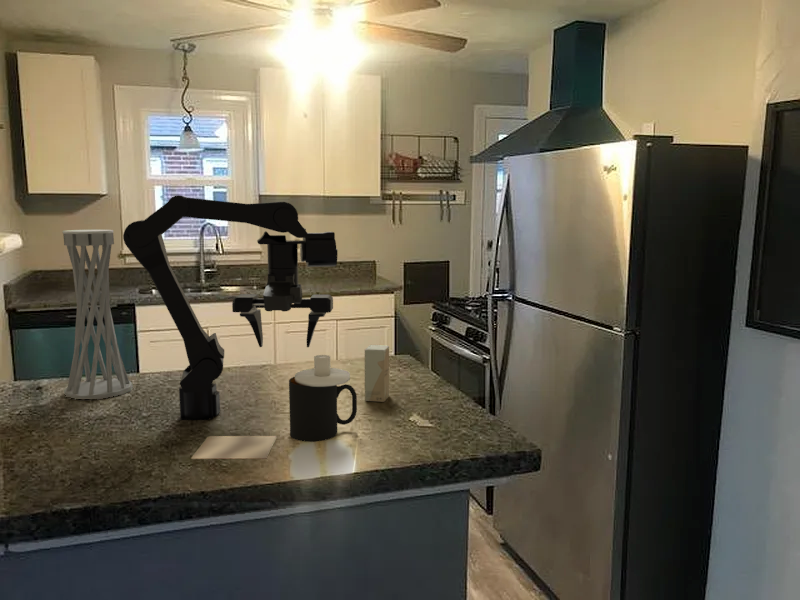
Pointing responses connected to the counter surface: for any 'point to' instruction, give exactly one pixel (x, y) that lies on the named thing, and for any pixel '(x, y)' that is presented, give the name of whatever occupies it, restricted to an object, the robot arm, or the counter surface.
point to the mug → (316, 411)
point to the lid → (322, 374)
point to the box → (376, 373)
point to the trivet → (235, 447)
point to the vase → (107, 384)
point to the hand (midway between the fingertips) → (284, 346)
